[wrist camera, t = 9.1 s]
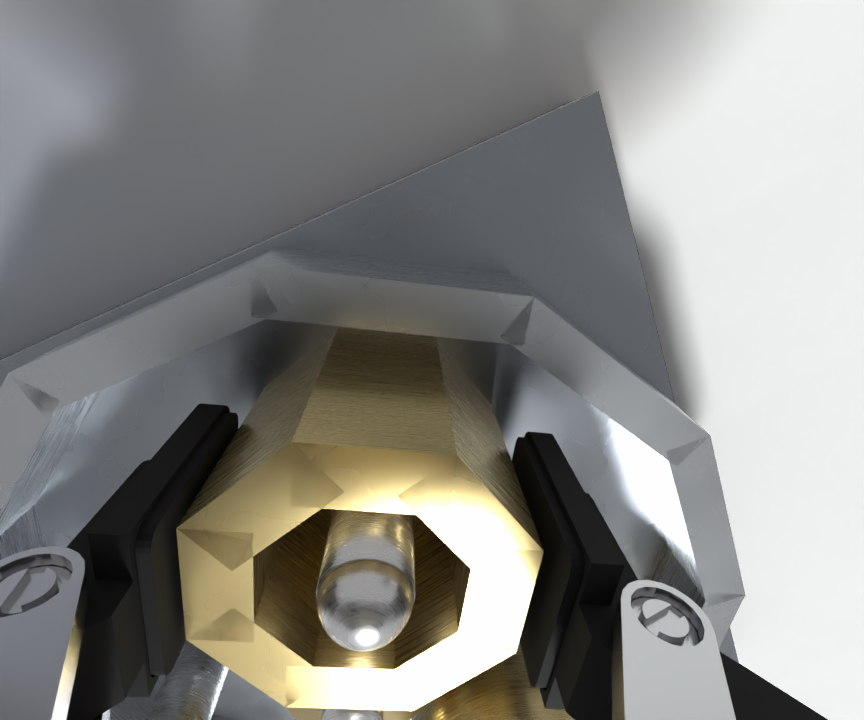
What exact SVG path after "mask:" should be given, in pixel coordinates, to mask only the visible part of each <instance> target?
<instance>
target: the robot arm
mask: <svg viewBox="0 0 864 720" xmlns="http://www.w3.org/2000/svg"><path fill="white" fill-rule="evenodd" d="M237 431H238V415H237V413H231V412H230V410H229V407H228V406H227V405H215V404H203V403H200V404H198V405H197V406H196V407H195V409H194V410H193V411H192V412H191V413H190V414H189V416H188V417H187V418H186V419H185V420H184V421H183V423H182V424H181V425H180V426H179V427H178V428H177V430H176V431H175V432H174V433H173V434H172V435H171V436H170V438H169V439H168V440H167V441H166V442H165V443H164V445H163V446H162V447H161V448H160V449H159V450H158V452H157V453H156V454H155V455H154V456H153V457H152V459H151V460H146V461H143V462H142V463H141V464H140V465H139V466H138V467H137V468H136V469H135V470H134V471H133V472H132V474H131V475H130V476H129V477H128V478H127V479H126V480H125V481H124V483H123V484H122V485H121V486H120V487H119V488H118V489H117V491H116V492H115V493H114V494H113V495H112V496H111V497H110V498H109V500H108V501H107V502H106V503H105V504H104V505H103V506H102V507H101V509H100V510H99V511H98V512H97V513H96V514H95V515H94V517H93V518H92V519H91V520H90V521H89V522H88V523H87V524H86V526H85V527H84V528H83V529H82V530H81V531H80V532H79V534H78V535H77V536H76V537H75V538H74V539H73V540H72V541H71V543H70V544H69V545H68V546H67V547H66V548H65V547H56V546H50V547H39V548H34V549H30V550H26V551H22V552H18V553H16V554H13V555H11V556H9V557H6V558H4V559H1V560H0V720H109V718H110V708H112V707H114V706H115V705H117V704H118V703H120V702H122V701H123V700H125V698H126V697H150V695H151V692H152V690H153V688H154V686H155V684H156V682H157V680H158V678H159V676H160V675H168V674H169V673H170V672H171V671H172V669H173V667H174V665H175V663H176V661H177V659H178V656H179V654H180V652H181V650H182V648H183V645H184V643H185V641H186V635H185V624H184V612H183V601H182V589H181V578H180V566H179V555H178V543H177V532H176V528H177V526H178V525H179V523H180V521H181V520H182V518H183V517H184V515H185V514H186V512H187V510H188V509H189V507H190V506H191V504H192V502H193V501H194V499H195V498H196V496H197V494H198V493H199V491H200V490H201V488H202V486H203V485H204V483H205V482H206V480H207V478H208V477H209V475H210V474H211V472H212V471H213V469H214V467H215V466H216V464H217V463H218V461H219V459H220V458H221V456H222V455H223V453H224V451H225V450H226V448H227V447H228V445H229V443H230V442H231V440H232V439H233V437H234V435H235V434H236V432H237ZM512 464H513V466H514V469H515V472H516V475H517V478H518V480H519V483H520V486H521V489H522V492H523V494H524V497H525V500H526V503H527V505H528V508H529V511H530V514H531V517H532V519H533V522H534V525H535V528H536V530H537V533H538V536H539V539H540V542H541V544H542V547H543V550H544V553H543V556H542V560H541V564H540V567H539V571H538V575H537V578H536V582H535V585H534V589H533V593H532V596H531V600H530V604H529V607H528V611H527V615H526V618H525V622H524V626H523V629H522V633H521V636H520V640H519V641H520V645H521V649H522V653H523V657H524V661H525V665H526V669H527V674H528V678H529V681H530V684H531V686H532V687H533V688H540V692H541V696H542V700H543V704H544V708H545V709H565V711H566V713H568V714H569V715H570V716H571V717H572V718H573V719H575V720H827V719H826V718H824V717H823V716H821V715H820V714H818V713H816V712H815V711H813V710H812V709H810V708H809V707H807V706H805V705H804V704H802V703H801V702H799V701H797V700H796V699H794V698H793V697H791V696H790V695H788V694H786V693H785V692H783V691H782V690H780V689H779V688H777V687H775V686H774V685H772V684H771V683H769V682H767V681H766V680H764V679H763V678H761V677H760V676H758V675H756V674H755V673H753V672H752V671H750V670H749V669H747V668H745V667H744V666H742V665H741V664H739V663H738V662H736V661H734V660H733V659H731V658H730V657H728V656H726V655H725V654H723V653H722V652H720V651H719V648H718V644H717V640H716V635H715V631H714V629H713V627H712V624H711V622H710V620H709V618H708V617H707V616H706V614H705V613H704V612H703V610H702V609H701V608H700V607H699V606H698V605H697V604H696V603H695V602H694V601H692V600H691V599H690V598H689V597H688V596H686V595H684V594H683V593H681V592H680V591H678V590H677V589H675V588H673V587H670V586H668V585H666V584H663V583H660V582H656V581H651V580H638V578H637V576H636V575H635V573H634V571H633V569H632V568H631V566H630V564H629V562H628V561H627V559H626V557H625V555H624V553H623V552H622V550H621V548H620V546H619V545H618V543H617V541H616V539H615V537H614V536H613V534H612V532H611V530H610V529H609V527H608V525H607V523H606V522H605V520H604V518H603V516H602V514H601V513H600V511H599V509H598V507H597V506H596V504H595V502H594V500H593V499H592V497H591V496H590V495H589V494H588V493H586V492H584V490H583V488H582V486H581V485H580V483H579V481H578V479H577V477H576V475H575V474H574V472H573V470H572V468H571V466H570V465H569V463H568V461H567V459H566V457H565V456H564V454H563V452H562V450H561V448H560V446H559V445H558V443H557V441H556V439H555V437H554V436H553V434H551V433H540V432H526V434H525V436H524V437H518V438H517V440H516V443H515V448H514V452H513V456H512Z"/></svg>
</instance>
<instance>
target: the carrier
mask: <svg viewBox="0 0 864 720" xmlns="http://www.w3.org/2000/svg"><path fill="white" fill-rule="evenodd" d="M337 328H344V329H354V330H363V331H373V332H382V333H392V334H402V335H411V336H421V337H431V338H436V339H437V340H438V341H439V342H440V343H441V345H442V346H443V347H444V348H445V349H446V351H447V352H448V353H449V354H450V355H451V357H452V358H453V359H454V360H455V362H456V363H457V364H458V365H459V366H460V368H461V369H462V370H463V371H464V372H465V374H466V375H467V376H468V377H469V378H470V380H471V381H472V382H473V383H474V385H475V386H476V387H477V388H478V389H479V391H480V392H481V393H482V394H483V395H484V397H485V398H486V399H487V400H488V401H489V403H490V404H491V405H492V408H493V411H494V414H495V416H496V419H497V422H498V425H499V427H500V430H501V433H502V436H503V439H504V441H505V444H506V447H507V450H508V453H509V455H510V458H511V461H512V456H513V452H514V448H515V443H516V440H517V438H518V437H524V436H525V434H526V432H540V433H551V434H553V436H554V437H555V439H556V441H557V443H558V445H559V446H560V448H561V450H562V452H563V454H564V456H565V457H566V459H567V461H568V463H569V465H570V466H571V468H572V470H573V472H574V474H575V475H576V477H577V479H578V481H579V483H580V485H581V486H582V488H583V490H584V492H586V493H588V494H589V495H590V496H591V497H592V499H593V500H594V502H595V504H596V506H597V507H598V509H599V511H600V513H601V514H602V516H603V518H604V520H605V522H606V523H607V525H608V527H609V529H610V530H611V532H612V534H613V536H614V537H615V539H616V541H617V543H618V545H619V546H620V548H621V550H622V552H623V553H624V555H625V557H626V559H627V561H628V562H629V564H630V566H631V568H632V569H633V571H634V573H635V575H636V576H637V578H638V580H651V581H656V582H660V583H663V584H666V585H668V586H670V587H673V588H675V589H677V590H678V591H680V592H681V593H683V594H684V595H686V596H688V597H689V598H690V599H691V600H692V601H694V602H695V603H696V604H697V605H698V606H699V607H700V608H701V609H702V610H703V612H704V613H705V614H706V616H707V617H708V618H709V620H710V622H711V624H712V627H713V629H714V631H715V635H716V640H717V644H718V648H719V651H720V652H722V653H723V654H725V655H726V656H728V657H730V658H731V659H733V660H734V661H736V662H738V658H737V654H736V650H735V646H734V642H733V638H732V634H731V630H730V624H731V622H732V620H733V618H734V616H735V614H736V612H737V610H738V608H739V606H740V604H741V602H742V600H743V598H744V596H745V592H744V587H743V583H742V578H741V574H740V569H739V565H738V560H737V555H736V551H735V546H734V542H733V537H732V533H731V528H730V523H729V519H728V514H727V510H726V505H725V501H724V496H723V491H722V487H721V482H720V478H719V473H718V468H717V464H716V459H715V455H714V450H713V446H712V441H711V436H710V435H709V434H708V433H707V432H706V431H705V430H704V429H703V428H701V427H700V426H699V425H698V424H697V423H696V422H695V421H694V420H692V419H691V418H690V417H689V416H688V415H687V414H686V413H685V412H683V411H682V410H681V409H680V408H679V407H678V406H677V405H676V404H675V401H674V397H673V393H672V389H671V385H670V381H669V377H668V373H667V369H666V365H665V361H664V357H663V352H662V348H661V344H660V340H659V336H658V332H657V328H656V324H655V320H654V316H653V312H652V308H651V304H650V299H649V295H648V291H647V287H646V283H645V279H644V275H643V271H642V267H641V263H640V259H639V255H638V250H637V246H636V242H635V238H634V234H633V230H632V226H631V222H630V218H629V214H628V210H627V206H626V202H625V197H624V193H623V189H622V185H621V181H620V177H619V173H618V169H617V165H616V161H615V157H614V153H613V148H612V144H611V140H610V136H609V132H608V128H607V124H606V120H605V116H604V112H603V108H602V104H601V100H600V95H599V91H598V92H595V93H593V94H590V95H587V96H585V97H582V98H579V99H577V100H574V101H572V102H569V103H567V104H565V105H563V106H561V107H558V108H556V109H554V110H552V111H550V112H547V113H545V114H543V115H541V116H538V117H536V118H534V119H532V120H530V121H527V122H525V123H523V124H521V125H519V126H516V127H514V128H512V129H510V130H508V131H505V132H503V133H501V134H499V135H496V136H494V137H492V138H490V139H488V140H485V141H483V142H481V143H479V144H477V145H474V146H472V147H470V148H468V149H465V150H463V151H461V152H459V153H457V154H454V155H452V156H450V157H448V158H446V159H443V160H441V161H439V162H437V163H434V164H432V165H430V166H428V167H426V168H423V169H421V170H419V171H417V172H415V173H412V174H410V175H408V176H406V177H404V178H401V179H399V180H397V181H395V182H392V183H390V184H388V185H386V186H384V187H381V188H379V189H377V190H375V191H373V192H370V193H368V194H366V195H364V196H361V197H359V198H357V199H355V200H353V201H350V202H348V203H346V204H344V205H342V206H339V207H337V208H335V209H333V210H330V211H328V212H326V213H324V214H322V215H319V216H317V217H315V218H313V219H311V220H308V221H306V222H304V223H302V224H300V225H297V226H295V227H293V228H291V229H288V230H286V231H284V232H282V233H280V234H277V235H275V236H273V237H271V238H269V239H266V240H264V241H262V242H260V243H257V244H255V245H253V246H251V247H249V248H246V249H244V250H242V251H240V252H238V253H235V254H233V255H231V256H229V257H226V258H224V259H222V260H220V261H218V262H215V263H213V264H211V265H209V266H207V267H204V268H202V269H200V270H198V271H196V272H193V273H191V274H189V275H187V276H184V277H182V278H180V279H178V280H176V281H173V282H171V283H169V284H167V285H165V286H162V287H160V288H158V289H156V290H153V291H151V292H149V293H147V294H145V295H142V296H140V297H138V298H136V299H134V300H131V301H129V302H127V303H125V304H122V305H120V306H118V307H116V308H114V309H111V310H109V311H107V312H105V313H103V314H100V315H98V316H96V317H94V318H92V319H89V320H87V321H85V322H83V323H80V324H78V325H76V326H74V327H72V328H69V329H67V330H65V331H63V332H61V333H58V334H56V335H54V336H52V337H49V338H47V339H45V340H43V341H41V342H38V343H36V344H34V345H32V346H30V347H27V348H25V349H23V350H21V351H18V352H16V353H14V354H12V355H10V356H7V357H5V358H3V359H1V360H0V560H1V559H4V558H6V557H9V556H11V555H13V554H16V553H18V552H22V551H26V550H30V549H34V548H39V547H50V546H56V547H65V548H66V547H67V546H68V545H69V544H70V543H71V541H72V540H73V539H74V538H75V537H76V536H77V535H78V534H79V532H80V531H81V530H82V529H83V528H84V527H85V526H86V524H87V523H88V522H89V521H90V520H91V519H92V518H93V517H94V515H95V514H96V513H97V512H98V511H99V510H100V509H101V507H102V506H103V505H104V504H105V503H106V502H107V501H108V500H109V498H110V497H111V496H112V495H113V494H114V493H115V492H116V491H117V489H118V488H119V487H120V486H121V485H122V484H123V483H124V481H125V480H126V479H127V478H128V477H129V476H130V475H131V474H132V472H133V471H134V470H135V469H136V468H137V467H138V466H139V465H140V464H141V463H142V462H143V461H146V460H151V459H152V457H153V456H154V455H155V454H156V453H157V452H158V450H159V449H160V448H161V447H162V446H163V445H164V443H165V442H166V441H167V440H168V439H169V438H170V436H171V435H172V434H173V433H174V432H175V431H176V430H177V428H178V427H179V426H180V425H181V424H182V423H183V421H184V420H185V419H186V418H187V417H188V416H189V414H190V413H191V412H192V411H193V410H194V409H195V407H196V406H197V405H198V404H200V403H203V404H215V405H227V406H228V407H229V410H230V412H231V413H237V415H238V429H239V428H240V426H241V424H242V423H243V421H244V420H245V418H246V416H247V415H248V413H249V412H250V410H251V408H252V407H253V405H254V404H255V402H256V400H257V399H258V397H259V396H260V394H261V392H262V391H263V389H264V388H265V386H266V385H267V384H268V383H269V382H270V381H272V380H273V379H274V378H275V377H277V376H278V375H279V374H280V373H282V372H283V371H284V370H286V369H287V368H288V367H289V366H291V365H292V364H293V363H294V362H296V361H297V360H298V359H299V358H301V357H302V356H303V355H305V354H306V353H307V352H308V351H310V350H311V349H312V348H313V347H315V346H316V345H317V344H318V343H320V342H321V341H322V340H323V339H325V338H326V337H327V336H329V335H330V334H331V333H332V332H334V331H335V330H336V329H337ZM316 600H317V611H318V616H319V619H320V622H321V624H322V627H323V628H324V630H325V631H326V633H327V634H328V636H329V637H330V638H331V639H332V640H333V641H334V642H336V643H337V644H338V645H340V646H342V647H344V648H346V649H349V650H352V651H358V652H366V651H373V650H376V649H379V648H381V647H383V646H385V645H387V644H389V643H390V642H391V641H393V640H394V639H395V638H396V637H397V636H398V635H399V634H400V632H401V631H402V630H403V629H404V627H405V625H406V624H407V622H408V620H409V617H410V615H411V612H412V608H413V603H414V600H415V559H414V520H413V515H410V514H395V513H381V512H366V511H351V510H336V509H333V511H332V516H331V521H330V526H329V530H328V535H327V540H326V545H325V550H324V555H323V559H322V564H321V569H320V574H319V579H318V583H317V588H316ZM109 720H575V719H573V718H572V717H571V716H570V715H569V714H568V713H566V711H565V709H545V708H544V704H543V700H542V696H541V692H540V688H533V687H532V686H531V684H530V681H529V678H528V674H527V669H526V665H525V661H524V657H523V653H522V649H521V645H520V641H519V644H518V647H517V651H516V653H515V654H513V655H512V656H510V657H508V658H506V659H504V660H503V661H501V662H499V663H497V664H496V665H494V666H492V667H490V668H488V669H487V670H485V671H483V672H481V673H480V674H478V675H476V676H474V677H473V678H471V679H469V680H467V681H465V682H464V683H462V684H460V685H458V686H457V687H455V688H453V689H451V690H449V691H448V692H446V693H444V694H442V695H441V696H439V697H437V698H435V699H433V700H432V701H430V702H428V703H426V704H425V705H423V706H421V707H419V708H418V709H416V710H414V711H395V710H359V709H324V708H289V707H284V706H283V705H281V704H280V703H278V702H277V701H275V700H274V699H273V698H271V697H270V696H268V695H267V694H265V693H264V692H262V691H261V690H259V689H258V688H256V687H255V686H253V685H252V684H251V683H249V682H248V681H246V680H245V679H243V678H242V677H240V676H239V675H237V674H236V673H234V672H233V671H231V670H230V669H228V668H227V667H226V666H224V665H223V664H221V663H220V662H218V661H217V660H215V659H214V658H212V657H211V656H209V655H208V654H206V653H205V652H203V651H202V650H201V649H199V648H198V647H196V646H195V645H193V644H192V643H190V642H189V641H187V640H186V641H185V643H184V645H183V648H182V650H181V652H180V654H179V656H178V659H177V661H176V663H175V665H174V667H173V669H172V671H171V672H170V673H169V674H168V675H160V676H159V678H158V680H157V682H156V684H155V686H154V688H153V690H152V692H151V695H150V697H126V698H125V700H123V701H122V702H120V703H118V704H117V705H115V706H114V707H112V708H110V718H109Z"/></svg>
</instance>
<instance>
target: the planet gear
mask: <svg viewBox="0 0 864 720" xmlns="http://www.w3.org/2000/svg"><path fill="white" fill-rule="evenodd" d="M333 509H336V510H351V511H366V512H381V513H395V514H410V515H413V520H414V559H415V600H414V603H413V608H412V612H411V615H410V617H409V620H408V622H407V624H406V625H405V627H404V629H403V630H402V631H401V632H400V634H399V635H398V636H397V637H396V638H395V639H394V640H393V641H391V642H390V643H389V644H387V645H385V646H383V647H381V648H379V649H376V650H373V651H366V652H358V651H352V650H349V649H346V648H344V647H342V646H340V645H338V644H337V643H336V642H334V641H333V640H332V639H331V638H330V637H329V636H328V634H327V633H326V631H325V630H324V628H323V627H322V624H321V622H320V619H319V616H318V611H317V600H316V588H317V583H318V579H319V574H320V569H321V564H322V559H323V555H324V550H325V545H326V540H327V535H328V530H329V526H330V521H331V516H332V511H333ZM176 532H177V543H178V555H179V566H180V578H181V589H182V601H183V612H184V624H185V635H186V640H187V641H189V642H190V643H192V644H193V645H195V646H196V647H198V648H199V649H201V650H202V651H203V652H205V653H206V654H208V655H209V656H211V657H212V658H214V659H215V660H217V661H218V662H220V663H221V664H223V665H224V666H226V667H227V668H228V669H230V670H231V671H233V672H234V673H236V674H237V675H239V676H240V677H242V678H243V679H245V680H246V681H248V682H249V683H251V684H252V685H253V686H255V687H256V688H258V689H259V690H261V691H262V692H264V693H265V694H267V695H268V696H270V697H271V698H273V699H274V700H275V701H277V702H278V703H280V704H281V705H283V706H284V707H289V708H324V709H359V710H395V711H414V710H416V709H418V708H419V707H421V706H423V705H425V704H426V703H428V702H430V701H432V700H433V699H435V698H437V697H439V696H441V695H442V694H444V693H446V692H448V691H449V690H451V689H453V688H455V687H457V686H458V685H460V684H462V683H464V682H465V681H467V680H469V679H471V678H473V677H474V676H476V675H478V674H480V673H481V672H483V671H485V670H487V669H488V668H490V667H492V666H494V665H496V664H497V663H499V662H501V661H503V660H504V659H506V658H508V657H510V656H512V655H513V654H515V653H516V651H517V647H518V644H519V640H520V636H521V633H522V629H523V626H524V622H525V618H526V615H527V611H528V607H529V604H530V600H531V596H532V593H533V589H534V585H535V582H536V578H537V575H538V571H539V567H540V564H541V560H542V556H543V553H544V550H543V547H542V544H541V542H540V539H539V536H538V533H537V530H536V528H535V525H534V522H533V519H532V517H531V514H530V511H529V508H528V505H527V503H526V500H525V497H524V494H523V492H522V489H521V486H520V483H519V480H518V478H517V475H516V472H515V469H514V466H513V464H512V461H511V458H510V455H509V453H508V450H507V447H506V444H505V441H504V439H503V436H502V433H501V430H500V427H499V425H498V422H497V419H496V416H495V414H494V411H493V408H492V405H491V404H490V403H489V401H488V400H487V399H486V398H485V397H484V395H483V394H482V393H481V392H480V391H479V389H478V388H477V387H476V386H475V385H474V383H473V382H472V381H471V380H470V378H469V377H468V376H467V375H466V374H465V372H464V371H463V370H462V369H461V368H460V366H459V365H458V364H457V363H456V362H455V360H454V359H453V358H452V357H451V355H450V354H449V353H448V352H447V351H446V349H445V348H444V347H443V346H442V345H441V343H440V342H439V341H438V340H437V339H436V338H431V337H421V336H411V335H402V334H392V333H382V332H373V331H363V330H354V329H344V328H337V329H336V330H335V331H334V332H332V333H331V334H330V335H329V336H327V337H326V338H325V339H323V340H322V341H321V342H320V343H318V344H317V345H316V346H315V347H313V348H312V349H311V350H310V351H308V352H307V353H306V354H305V355H303V356H302V357H301V358H299V359H298V360H297V361H296V362H294V363H293V364H292V365H291V366H289V367H288V368H287V369H286V370H284V371H283V372H282V373H280V374H279V375H278V376H277V377H275V378H274V379H273V380H272V381H270V382H269V383H268V384H267V385H266V386H265V388H264V389H263V391H262V392H261V394H260V396H259V397H258V399H257V400H256V402H255V404H254V405H253V407H252V408H251V410H250V412H249V413H248V415H247V416H246V418H245V420H244V421H243V423H242V424H241V426H240V428H239V429H238V431H237V432H236V434H235V435H234V437H233V439H232V440H231V442H230V443H229V445H228V447H227V448H226V450H225V451H224V453H223V455H222V456H221V458H220V459H219V461H218V463H217V464H216V466H215V467H214V469H213V471H212V472H211V474H210V475H209V477H208V478H207V480H206V482H205V483H204V485H203V486H202V488H201V490H200V491H199V493H198V494H197V496H196V498H195V499H194V501H193V502H192V504H191V506H190V507H189V509H188V510H187V512H186V514H185V515H184V517H183V518H182V520H181V521H180V523H179V525H178V526H177V528H176Z"/></svg>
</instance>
